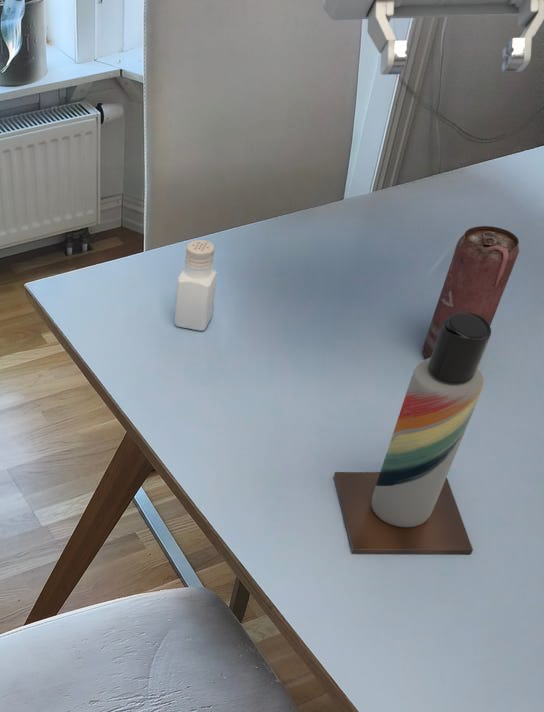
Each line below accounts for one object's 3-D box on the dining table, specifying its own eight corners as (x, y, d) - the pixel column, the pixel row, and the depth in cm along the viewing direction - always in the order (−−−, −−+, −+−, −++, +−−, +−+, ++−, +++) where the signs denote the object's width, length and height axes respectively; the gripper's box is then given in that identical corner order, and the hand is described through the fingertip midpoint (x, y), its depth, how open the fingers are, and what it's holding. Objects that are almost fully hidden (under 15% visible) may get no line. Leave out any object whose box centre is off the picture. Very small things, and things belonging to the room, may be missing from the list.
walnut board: (443, 476, 89) (445, 471, 88) (471, 554, 82) (473, 550, 82) (333, 476, 89) (334, 471, 89) (351, 554, 82) (353, 549, 82)
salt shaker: (172, 327, 107) (178, 251, 100) (182, 310, 109) (188, 235, 102) (204, 333, 106) (212, 257, 99) (213, 316, 108) (222, 240, 101)
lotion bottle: (383, 481, 88) (446, 295, 72) (439, 502, 86) (516, 315, 70) (360, 514, 85) (420, 327, 69) (417, 537, 83) (493, 350, 67)
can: (446, 378, 99) (489, 258, 88) (410, 349, 103) (448, 231, 92) (489, 364, 100) (537, 245, 90) (452, 336, 104) (494, 218, 93)
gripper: (336, -151, 65) (330, 50, 66) (621, -160, 64) (609, 43, 65) (315, -89, 71) (310, 93, 72) (575, -97, 70) (564, 87, 71)
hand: (454, 69), depth 69 cm, fingers open, 8 cm apart
